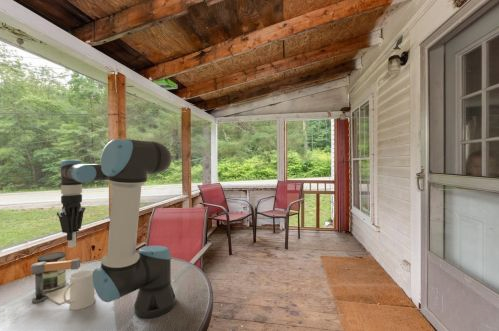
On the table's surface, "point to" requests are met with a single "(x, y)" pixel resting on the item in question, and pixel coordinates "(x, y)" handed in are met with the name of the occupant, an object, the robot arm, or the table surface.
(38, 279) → the post
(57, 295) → the coaster
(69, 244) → the robot arm
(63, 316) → the table surface
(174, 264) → the table surface
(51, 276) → the coffee can
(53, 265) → the swing arm
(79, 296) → the mug
